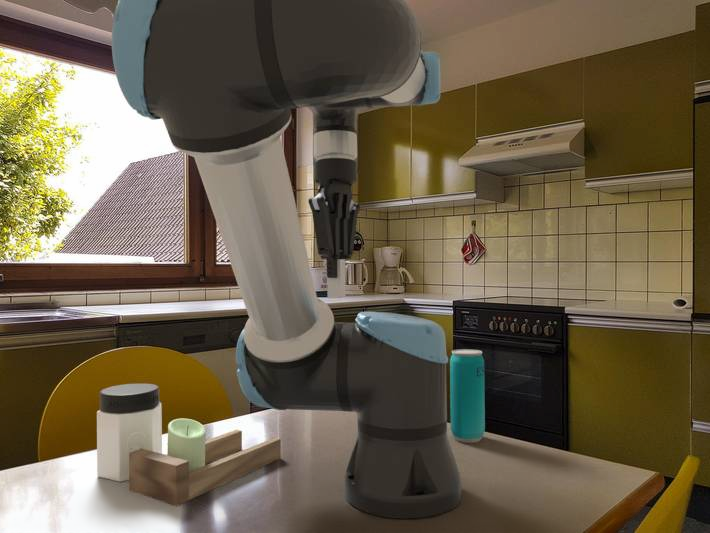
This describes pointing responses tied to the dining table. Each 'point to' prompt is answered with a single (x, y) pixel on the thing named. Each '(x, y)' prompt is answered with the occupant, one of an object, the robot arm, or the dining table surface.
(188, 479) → the channel
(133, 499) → the dining table surface
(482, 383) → the beverage can
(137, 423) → the jar
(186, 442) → the candle
